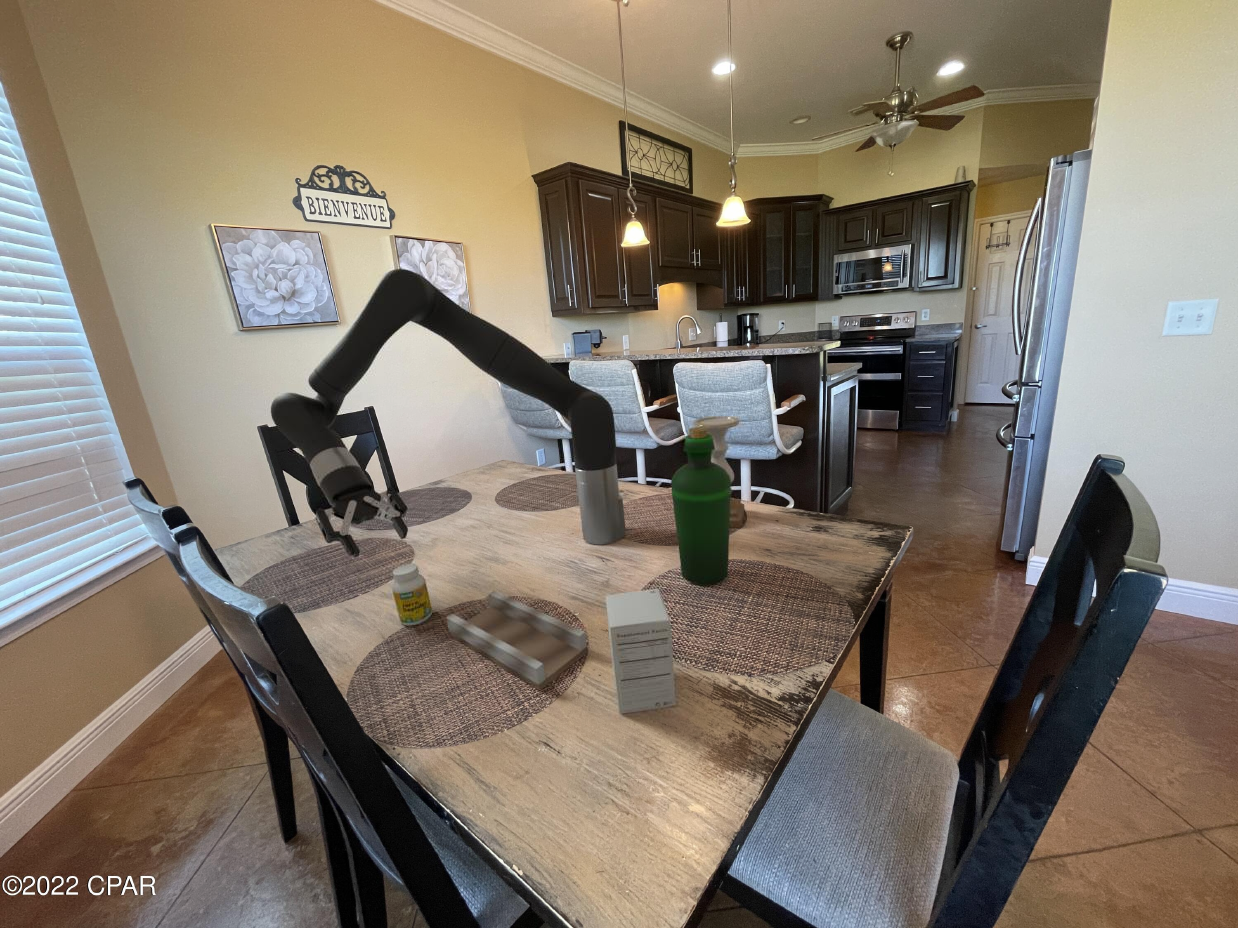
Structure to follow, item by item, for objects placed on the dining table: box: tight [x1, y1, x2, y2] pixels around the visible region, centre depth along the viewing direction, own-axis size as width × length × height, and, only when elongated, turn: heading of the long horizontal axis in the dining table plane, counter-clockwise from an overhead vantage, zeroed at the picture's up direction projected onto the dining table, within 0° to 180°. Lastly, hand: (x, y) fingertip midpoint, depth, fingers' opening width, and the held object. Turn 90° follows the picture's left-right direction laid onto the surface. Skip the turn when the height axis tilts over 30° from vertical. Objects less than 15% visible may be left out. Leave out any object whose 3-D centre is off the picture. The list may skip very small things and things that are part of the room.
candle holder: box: [693, 416, 745, 529], centre depth 111 cm, size 11×11×24 cm
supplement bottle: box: [391, 563, 433, 627], centre depth 83 cm, size 5×5×10 cm
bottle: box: [670, 426, 732, 586], centre depth 85 cm, size 11×11×28 cm
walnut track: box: [446, 590, 588, 692], centre depth 74 cm, size 22×9×4 cm, turn 50°
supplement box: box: [605, 588, 677, 715], centre depth 61 cm, size 7×7×13 cm
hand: (381, 545), depth 86 cm, fingers open, 8 cm apart
